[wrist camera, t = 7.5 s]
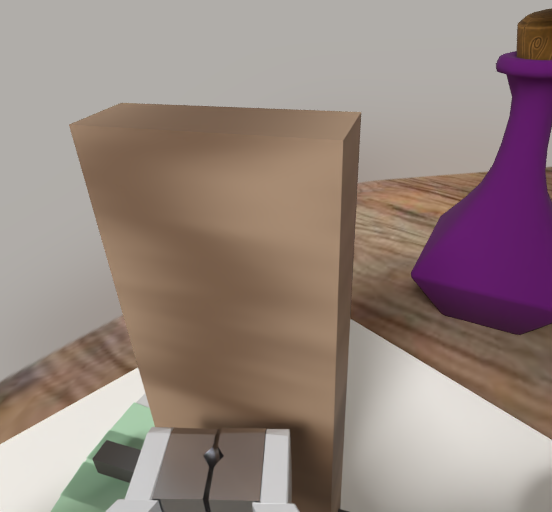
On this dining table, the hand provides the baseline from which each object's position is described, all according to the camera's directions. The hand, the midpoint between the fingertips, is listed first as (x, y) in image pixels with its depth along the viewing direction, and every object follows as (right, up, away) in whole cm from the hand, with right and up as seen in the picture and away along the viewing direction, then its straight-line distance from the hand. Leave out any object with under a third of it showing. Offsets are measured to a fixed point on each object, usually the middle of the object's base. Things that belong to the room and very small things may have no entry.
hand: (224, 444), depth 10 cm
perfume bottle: (+13, +1, +17) cm, 21 cm away
